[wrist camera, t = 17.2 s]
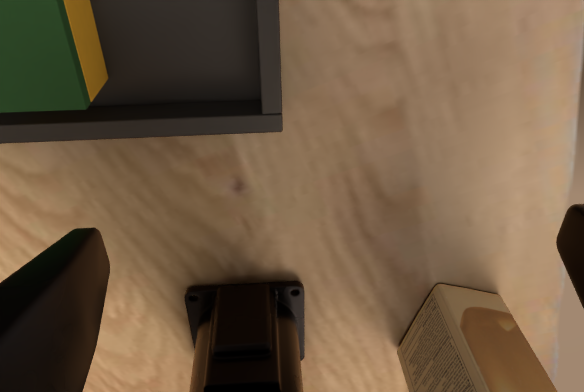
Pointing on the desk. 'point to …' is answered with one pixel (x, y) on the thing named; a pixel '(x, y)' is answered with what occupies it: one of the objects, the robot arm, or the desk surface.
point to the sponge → (49, 55)
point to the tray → (173, 74)
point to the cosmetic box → (469, 346)
